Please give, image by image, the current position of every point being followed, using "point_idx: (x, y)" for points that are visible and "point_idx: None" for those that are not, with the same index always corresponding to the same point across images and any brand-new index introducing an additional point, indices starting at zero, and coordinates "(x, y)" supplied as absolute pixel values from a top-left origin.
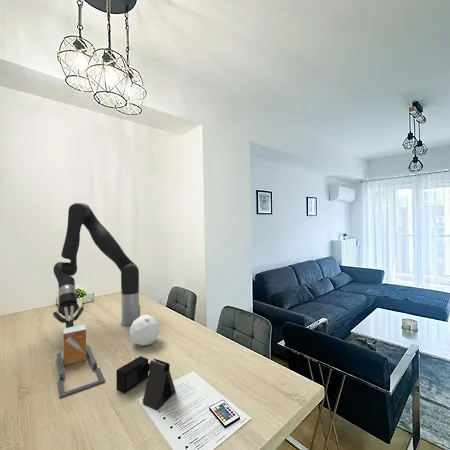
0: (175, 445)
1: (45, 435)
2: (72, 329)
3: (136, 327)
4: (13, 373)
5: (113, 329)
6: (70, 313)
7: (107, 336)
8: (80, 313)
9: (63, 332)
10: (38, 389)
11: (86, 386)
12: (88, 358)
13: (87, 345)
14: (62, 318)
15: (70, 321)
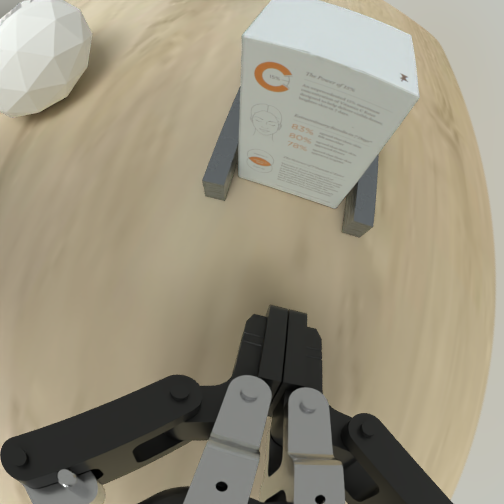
0: None
1: (393, 12)
2: (358, 30)
3: (68, 9)
4: (480, 260)
5: (4, 342)
6: (254, 474)
7: (56, 283)
8: (91, 420)
9: (413, 51)
10: (418, 101)
11: None
12: None
13: (212, 178)
14: (371, 440)
15: (273, 369)
